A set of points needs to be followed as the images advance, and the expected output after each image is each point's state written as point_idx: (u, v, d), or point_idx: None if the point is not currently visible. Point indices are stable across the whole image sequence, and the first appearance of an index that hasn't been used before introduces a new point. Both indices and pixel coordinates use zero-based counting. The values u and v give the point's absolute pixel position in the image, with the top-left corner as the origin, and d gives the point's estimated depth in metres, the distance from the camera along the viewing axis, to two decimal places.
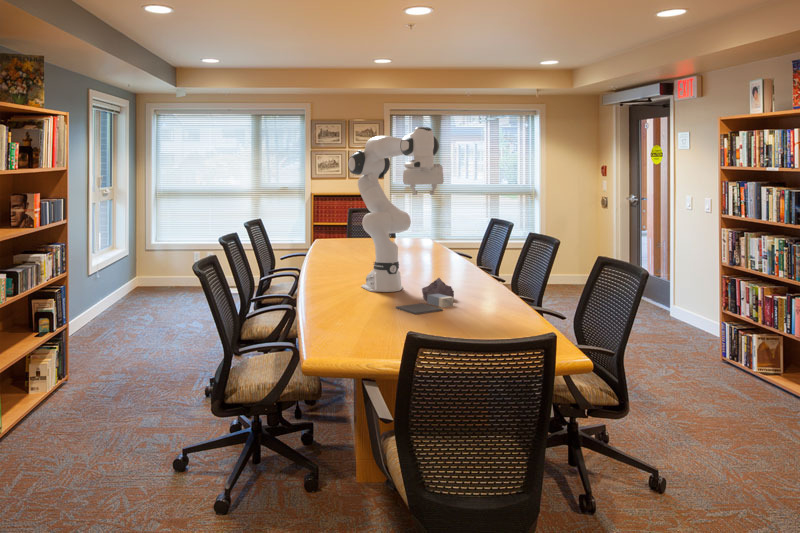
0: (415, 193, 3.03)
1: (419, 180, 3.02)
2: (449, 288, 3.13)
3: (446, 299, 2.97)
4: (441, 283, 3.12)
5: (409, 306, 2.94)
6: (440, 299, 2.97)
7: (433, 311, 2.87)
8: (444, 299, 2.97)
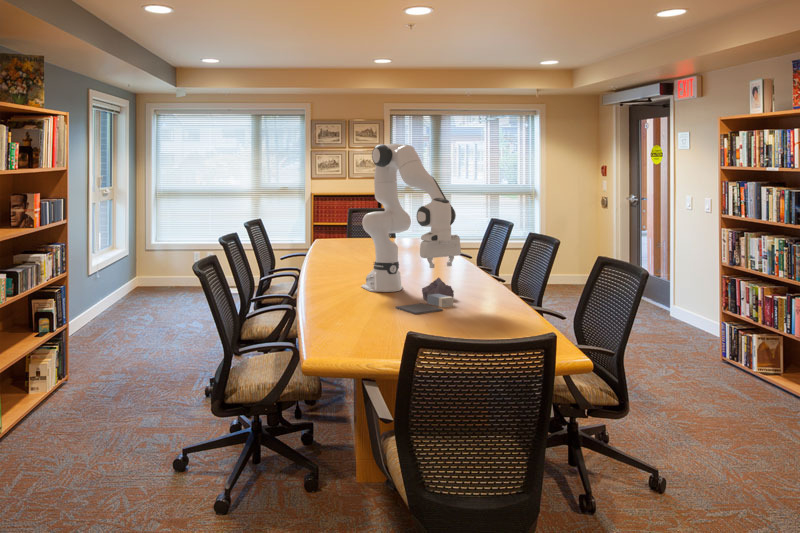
0: (432, 266, 2.97)
1: (436, 253, 2.96)
2: (449, 288, 3.14)
3: (446, 299, 2.97)
4: (441, 283, 3.13)
5: (409, 306, 2.94)
6: (440, 299, 2.97)
7: (433, 311, 2.87)
8: (444, 299, 2.97)
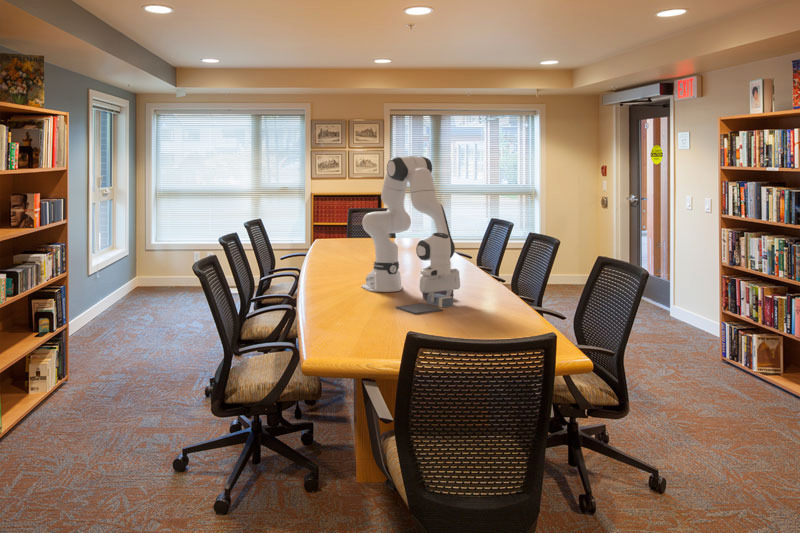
0: (434, 300, 2.99)
1: (436, 287, 2.98)
2: None
3: (446, 299, 2.97)
4: None
5: (409, 306, 2.94)
6: (440, 299, 2.97)
7: (433, 311, 2.87)
8: (444, 299, 2.97)
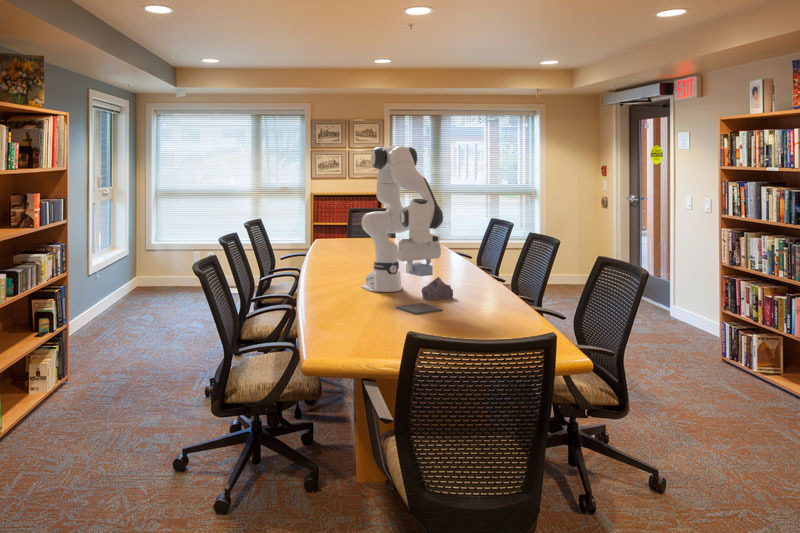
0: None
1: None
2: (448, 287, 3.16)
3: None
4: (441, 282, 3.14)
5: (409, 306, 2.94)
6: None
7: (433, 311, 2.87)
8: None
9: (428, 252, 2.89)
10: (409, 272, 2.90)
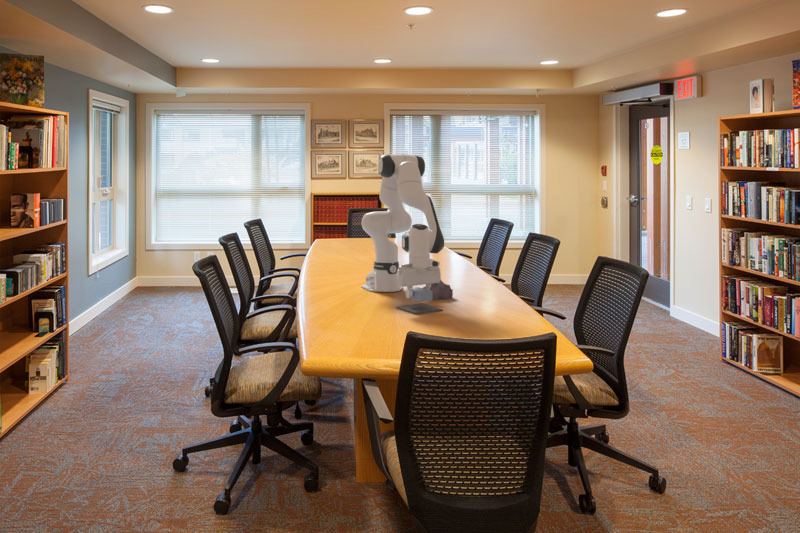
0: None
1: None
2: (448, 287, 3.16)
3: None
4: (441, 282, 3.15)
5: (409, 306, 2.94)
6: None
7: (433, 311, 2.87)
8: None
9: (428, 277, 2.90)
10: (409, 297, 2.92)
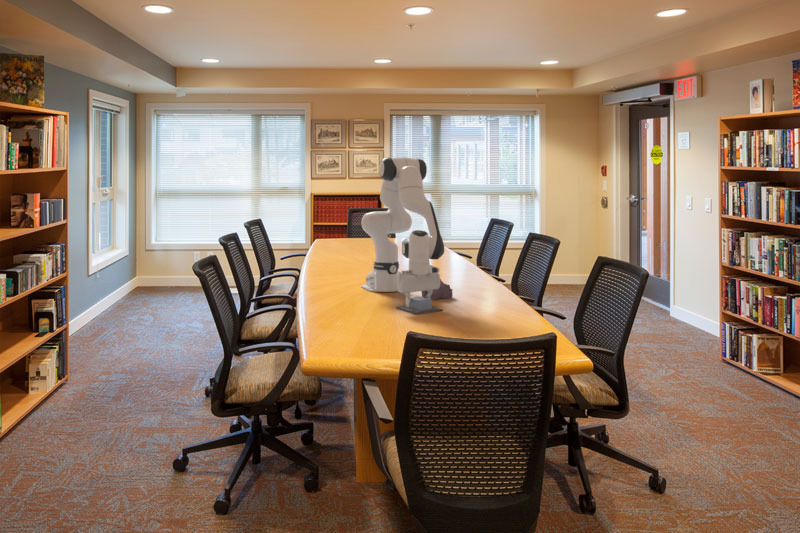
0: None
1: None
2: (448, 287, 3.17)
3: None
4: (440, 282, 3.15)
5: None
6: None
7: (433, 311, 2.87)
8: None
9: (428, 283, 2.91)
10: (409, 306, 2.93)
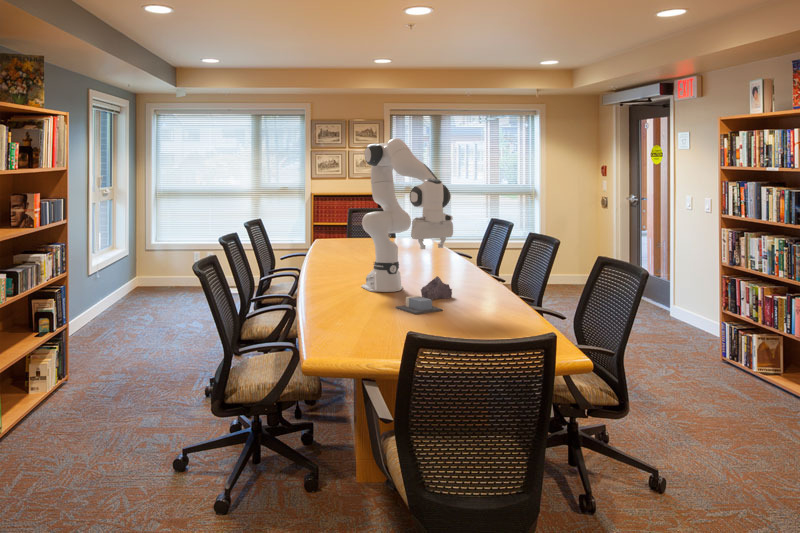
0: None
1: None
2: (447, 286, 3.18)
3: None
4: (440, 282, 3.16)
5: None
6: None
7: (433, 311, 2.87)
8: None
9: (441, 231, 2.96)
10: (409, 306, 2.93)
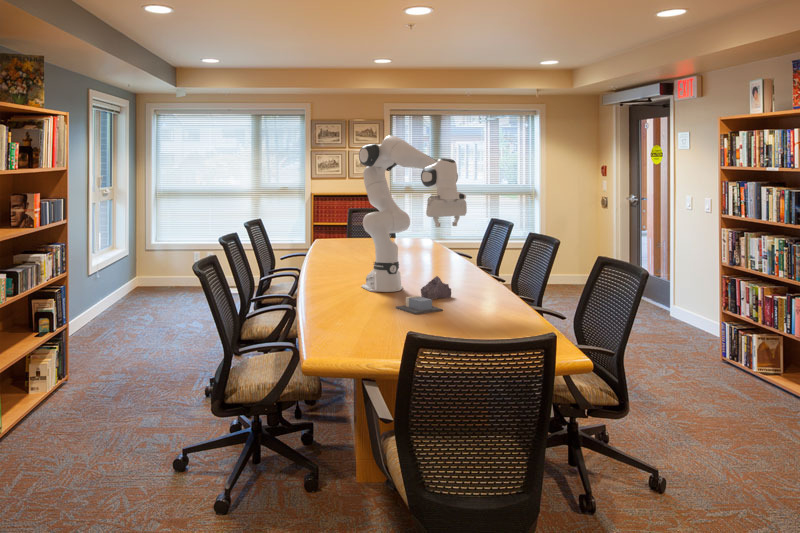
0: None
1: None
2: (447, 286, 3.19)
3: None
4: (440, 281, 3.17)
5: None
6: None
7: (433, 311, 2.87)
8: None
9: (455, 209, 3.04)
10: (409, 306, 2.93)
